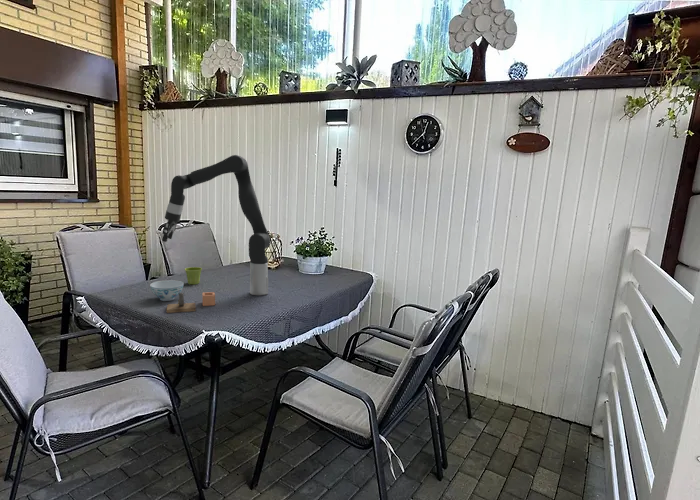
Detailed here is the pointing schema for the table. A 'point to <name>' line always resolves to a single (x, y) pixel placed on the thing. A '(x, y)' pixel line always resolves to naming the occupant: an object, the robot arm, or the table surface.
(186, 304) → the shaft block
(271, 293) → the table surface
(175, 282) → the chinaware
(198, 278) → the plant pot
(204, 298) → the orange hollow square block
